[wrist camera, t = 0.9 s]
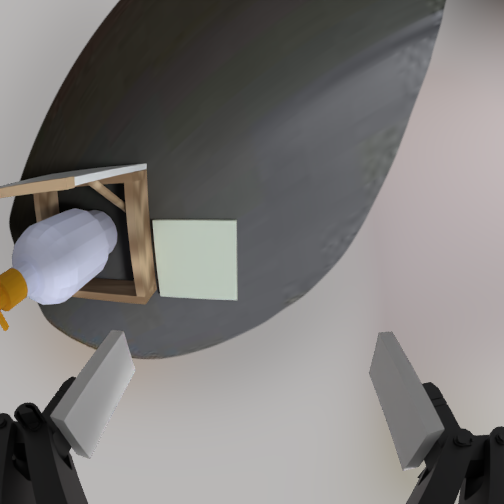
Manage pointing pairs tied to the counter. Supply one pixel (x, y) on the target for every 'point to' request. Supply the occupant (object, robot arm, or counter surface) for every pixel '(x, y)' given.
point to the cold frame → (137, 233)
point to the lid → (65, 180)
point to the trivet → (196, 258)
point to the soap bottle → (57, 258)
